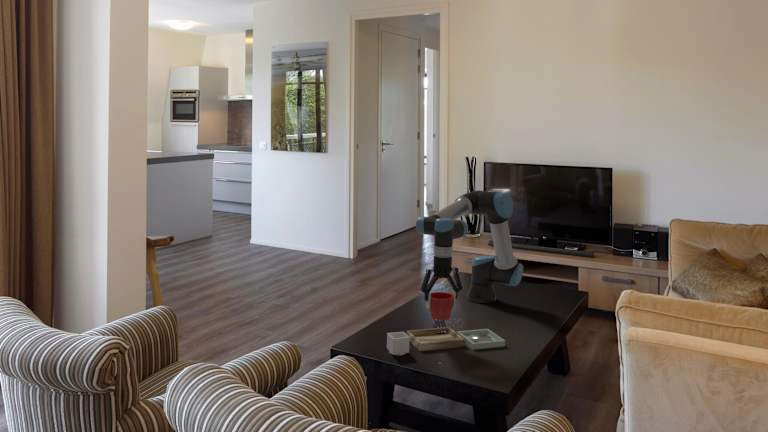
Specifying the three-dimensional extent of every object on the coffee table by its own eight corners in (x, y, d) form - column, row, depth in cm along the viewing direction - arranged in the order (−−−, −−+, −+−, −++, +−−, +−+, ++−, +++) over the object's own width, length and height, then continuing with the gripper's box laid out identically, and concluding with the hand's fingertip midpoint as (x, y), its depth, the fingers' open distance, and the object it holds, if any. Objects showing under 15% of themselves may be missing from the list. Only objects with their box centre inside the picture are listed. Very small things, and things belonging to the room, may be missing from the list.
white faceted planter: (386, 349, 239) (387, 333, 238) (402, 348, 242) (403, 331, 241) (392, 356, 233) (392, 339, 232) (409, 354, 235) (409, 337, 234)
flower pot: (425, 313, 253) (426, 291, 252) (450, 313, 254) (451, 291, 253) (429, 321, 243) (430, 298, 241) (455, 321, 244) (456, 299, 242)
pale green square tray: (456, 337, 256) (456, 331, 255) (487, 334, 261) (487, 328, 260) (472, 349, 242) (472, 343, 241) (504, 346, 247) (505, 340, 246)
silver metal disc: (466, 336, 254) (466, 334, 254) (484, 334, 257) (485, 332, 256) (475, 343, 245) (476, 341, 245) (495, 341, 248) (495, 339, 248)
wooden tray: (406, 337, 254) (406, 330, 253) (448, 333, 260) (448, 327, 260) (420, 351, 239) (420, 344, 238) (464, 346, 245) (465, 339, 245)
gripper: (420, 259, 237) (418, 312, 240) (472, 256, 244) (469, 308, 248) (413, 255, 244) (411, 306, 247) (464, 252, 252) (461, 302, 255)
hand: (440, 307), depth 248 cm, fingers closed on flower pot, 11 cm apart
